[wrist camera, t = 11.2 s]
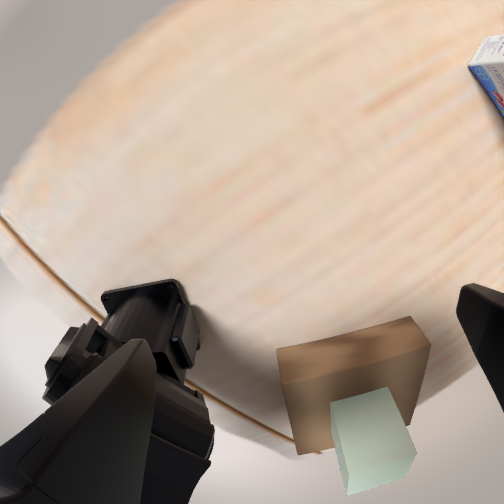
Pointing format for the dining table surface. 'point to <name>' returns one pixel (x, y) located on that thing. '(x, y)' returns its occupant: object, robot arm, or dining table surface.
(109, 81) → the dining table surface
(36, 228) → the dining table surface
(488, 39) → the medicine box
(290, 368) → the walnut base
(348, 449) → the sage block
